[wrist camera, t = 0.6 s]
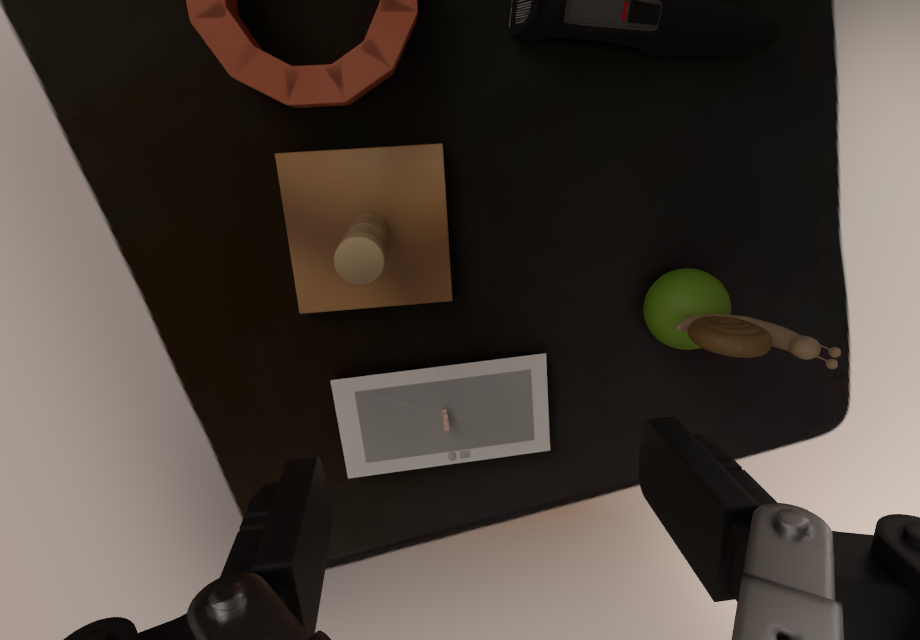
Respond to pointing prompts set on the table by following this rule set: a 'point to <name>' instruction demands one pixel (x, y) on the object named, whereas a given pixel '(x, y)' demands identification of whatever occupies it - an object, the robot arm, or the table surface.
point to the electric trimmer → (649, 25)
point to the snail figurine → (716, 320)
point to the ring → (312, 83)
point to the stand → (366, 226)
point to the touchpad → (443, 415)
